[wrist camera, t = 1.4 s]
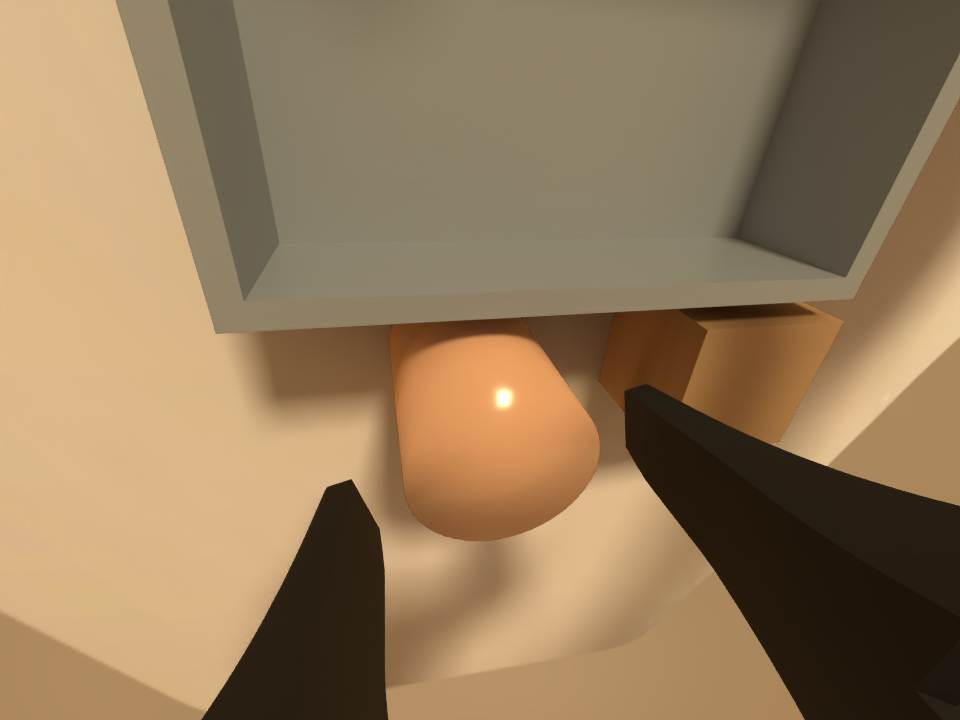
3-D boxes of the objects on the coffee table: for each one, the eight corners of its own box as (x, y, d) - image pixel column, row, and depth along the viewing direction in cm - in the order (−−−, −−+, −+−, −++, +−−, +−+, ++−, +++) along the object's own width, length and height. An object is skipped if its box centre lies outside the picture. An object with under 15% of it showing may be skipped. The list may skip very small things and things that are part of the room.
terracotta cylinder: (524, 276, 16) (618, 381, 10) (513, 388, 18) (581, 524, 12) (385, 280, 15) (398, 402, 9) (393, 399, 17) (408, 554, 11)
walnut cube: (731, 268, 18) (844, 321, 14) (694, 370, 20) (779, 441, 16) (622, 271, 17) (707, 330, 12) (597, 379, 19) (661, 457, 15)
